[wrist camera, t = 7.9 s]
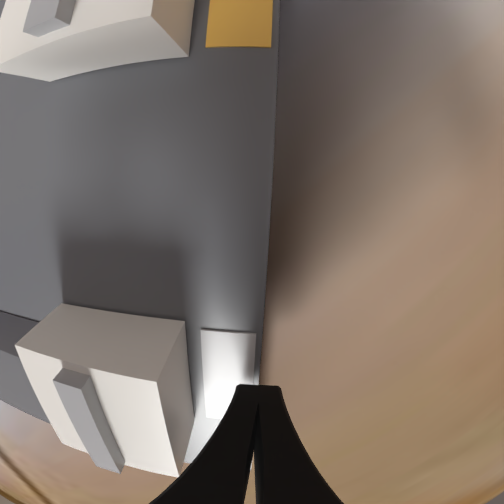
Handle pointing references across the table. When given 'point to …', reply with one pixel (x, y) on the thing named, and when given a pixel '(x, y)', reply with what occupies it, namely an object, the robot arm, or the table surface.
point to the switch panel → (147, 200)
